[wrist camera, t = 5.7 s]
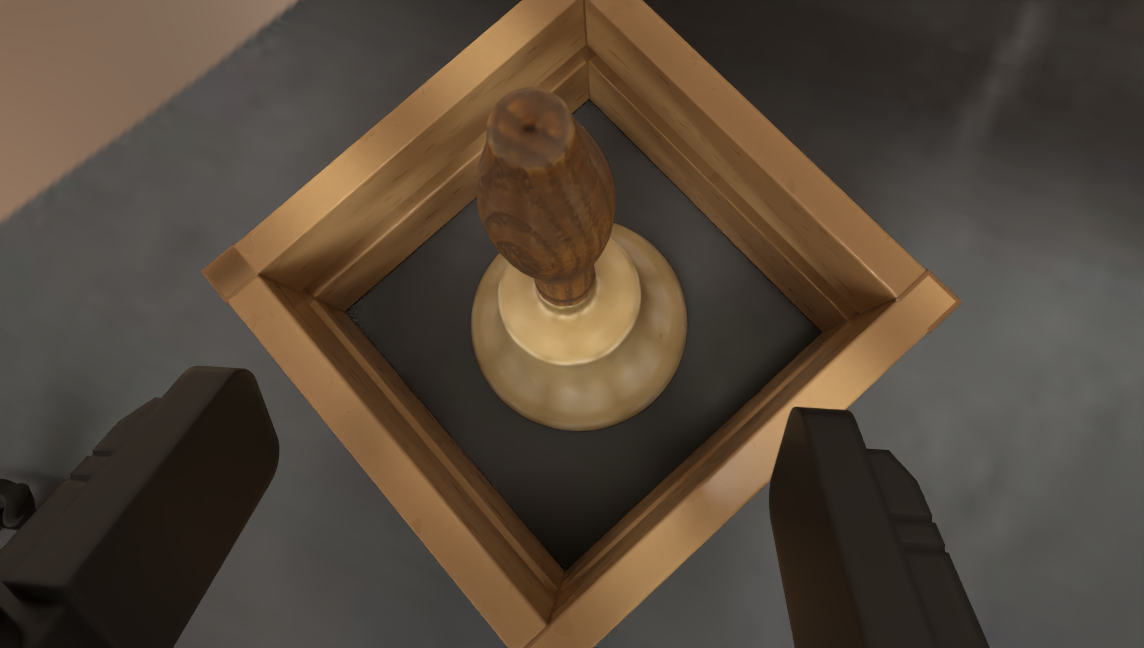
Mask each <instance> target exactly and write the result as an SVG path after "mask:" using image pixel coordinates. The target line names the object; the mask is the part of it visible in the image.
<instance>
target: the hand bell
mask: <svg viewBox="0 0 1144 648" xmlns="http://www.w3.org/2000/svg"><path fill="white" fill-rule="evenodd" d="M475 189H476V199H477V207H478V211H479V215H480V217H481V220H482V223H483V225H484V228H485V230H486V232H487V234H488V236H489V238H490V239H491V241H492V243H493V245H494V246H495V248H496V249H497V250H498V252H499V254H498V255H497V256H496V257H495V258H494V260H493V261H492V262H491V263H490V265H489V266H488V268H487V270H486V271H485V273H484V275H483V277H482V279H481V281H480V283H479V285H478V288H477V291H476V294H475V297H474V301H473V306H472V313H471V339H472V345H473V349H474V353H475V356H476V359H477V362H478V365H479V367H480V369H481V371H482V373H483V375H484V377H485V379H486V380H487V382H488V384H489V385H490V387H491V388H492V389H493V390H494V392H495V393H496V394H497V395H498V397H499V398H500V399H501V400H502V401H504V402H505V403H506V404H507V405H508V406H509V407H510V408H511V409H513V410H514V411H515V412H517V413H518V414H520V415H522V416H524V417H525V418H527V419H529V420H531V421H533V422H536V423H539V424H541V425H544V426H548V427H551V428H555V429H560V430H569V431H590V430H597V429H602V428H606V427H609V426H613V425H616V424H618V423H621V422H623V421H625V420H627V419H629V418H631V417H633V416H635V415H637V414H638V413H640V412H641V411H642V410H644V409H645V408H646V407H648V406H649V405H650V404H651V403H652V402H653V401H654V400H655V399H656V398H657V397H658V396H659V395H660V394H661V393H662V391H663V390H664V389H665V388H666V387H667V385H668V384H669V382H670V381H671V379H672V377H673V376H674V374H675V372H676V370H677V368H678V365H679V363H680V360H681V358H682V355H683V351H684V348H685V344H686V337H687V323H688V321H687V310H686V304H685V299H684V295H683V292H682V289H681V286H680V283H679V281H678V279H677V277H676V275H675V273H674V271H673V269H672V267H671V266H670V264H669V263H668V262H667V260H666V259H665V258H664V257H663V255H662V254H661V253H660V252H659V251H658V250H657V249H656V248H655V247H654V246H653V245H652V244H651V243H650V242H649V241H647V240H646V239H645V238H643V237H642V236H640V235H639V234H637V233H635V232H634V231H632V230H630V229H628V228H626V227H624V226H622V225H619V224H616V223H614V214H615V188H614V182H613V178H612V174H611V171H610V168H609V165H608V163H607V160H606V158H605V156H604V154H603V153H602V151H601V149H600V148H599V146H598V144H597V143H596V142H595V140H594V139H593V138H592V137H591V136H590V134H589V133H588V132H587V131H586V130H585V129H584V128H583V127H582V126H581V125H580V124H579V123H578V122H577V121H576V120H575V119H574V118H573V116H572V114H571V111H570V109H569V108H568V106H567V105H566V103H565V102H564V100H563V99H561V98H560V97H558V96H557V95H555V94H553V93H552V92H550V91H548V90H546V89H542V88H537V87H527V88H523V89H519V90H515V91H512V92H510V93H508V94H507V95H505V96H504V97H502V98H501V99H500V100H499V101H498V102H497V103H496V105H495V107H494V108H493V110H492V112H491V113H490V115H489V118H488V121H487V135H486V143H485V145H484V148H483V151H482V154H481V158H480V161H479V165H478V169H477V177H476V187H475Z"/></svg>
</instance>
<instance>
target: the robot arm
mask: <svg viewBox="0 0 1144 648" xmlns="http://www.w3.org/2000/svg"><path fill="white" fill-rule="evenodd" d="M278 460H279V442H278V438H277V435H276V432H275V429H274V427H273V424H272V421H271V419H270V416H269V413H268V411H267V408H266V405H265V402H264V400H263V397H262V394H261V392H260V389H259V386H258V384H257V381H256V379H255V376H254V375H253V374H252V373H251V372H250V371H249V370H247V369H241V368H225V367H210V366H193V367H191V368H189V369H188V370H186V371H185V372H184V373H183V374H182V375H181V376H180V377H179V379H178V380H177V381H176V382H175V383H174V384H173V385H172V387H171V388H170V389H169V390H168V391H167V392H166V393H165V394H164V396H163V397H162V398H153V399H152V400H150V401H149V402H147V403H146V404H144V405H143V406H141V407H140V408H138V409H137V410H135V411H134V412H132V413H131V414H129V415H128V416H126V417H125V418H123V419H122V420H120V421H119V422H118V423H117V424H116V425H115V426H114V427H113V428H112V429H111V430H110V432H109V433H108V434H107V435H106V436H105V437H104V438H103V439H102V440H101V441H100V442H99V443H98V445H97V446H96V447H95V448H94V449H93V454H92V456H87V457H86V458H85V459H84V460H83V461H82V462H81V463H80V464H79V465H78V466H77V467H76V468H75V470H74V471H73V472H72V473H71V474H70V475H71V478H70V480H69V481H66V480H64V482H63V483H62V484H61V485H60V486H59V487H58V488H57V489H56V490H55V491H54V492H53V493H52V495H51V496H50V497H49V498H48V499H47V500H46V501H45V502H44V503H43V504H42V505H41V507H40V508H39V509H38V510H37V511H36V512H35V513H34V514H33V515H32V516H31V517H30V518H29V520H28V521H27V522H26V523H25V524H24V525H23V526H22V527H21V528H20V529H19V530H18V532H17V533H16V534H15V535H14V536H13V537H12V538H11V539H10V540H9V541H8V542H7V543H6V545H5V546H4V547H3V548H2V549H1V550H0V648H173V647H174V645H175V643H176V642H177V640H178V638H179V637H180V635H181V633H182V632H183V630H184V628H185V627H186V625H187V623H188V621H189V620H190V618H191V616H192V615H193V613H194V611H195V610H196V608H197V606H198V605H199V603H200V601H201V599H202V598H203V596H204V594H205V593H206V591H207V589H208V588H209V586H210V584H211V583H212V581H213V579H214V577H215V576H216V574H217V572H218V571H219V569H220V567H221V566H222V564H223V562H224V561H225V559H226V557H227V555H228V554H229V552H230V550H231V549H232V547H233V545H234V544H235V542H236V540H237V538H238V537H239V535H240V533H241V532H242V530H243V528H244V527H245V525H246V523H247V522H248V520H249V518H250V516H251V515H252V513H253V511H254V510H255V508H256V506H257V505H258V503H259V501H260V500H261V498H262V496H263V494H264V493H265V491H266V489H267V488H268V486H269V484H270V483H271V481H272V479H273V477H274V475H275V472H276V469H277V465H278ZM769 510H770V519H771V525H772V530H773V535H774V540H775V546H776V551H777V556H778V561H779V567H780V572H781V577H782V582H783V588H784V593H785V598H786V603H787V609H788V614H789V619H790V624H791V629H792V635H793V640H794V645H795V648H990V647H989V645H988V643H987V640H986V638H985V636H984V633H983V631H982V629H981V627H980V624H979V622H978V620H977V617H976V615H975V613H974V611H973V608H972V606H971V604H970V601H969V599H968V597H967V594H966V592H965V590H964V588H963V585H962V583H961V581H960V578H959V576H958V574H957V571H956V569H955V567H954V565H953V562H952V560H951V558H950V555H949V553H946V552H945V549H944V547H945V544H944V542H943V539H942V537H941V535H940V532H939V530H938V528H937V526H936V523H933V522H932V514H931V512H930V509H929V507H928V505H927V503H926V500H925V498H924V496H923V493H922V491H921V489H920V486H919V484H918V482H917V480H916V479H915V478H914V477H913V476H912V475H911V474H910V473H909V472H908V471H907V470H906V468H905V467H904V466H903V465H902V464H901V463H900V462H899V461H898V460H897V459H896V458H895V457H894V456H893V454H892V453H891V452H890V451H889V450H878V449H866V446H865V443H864V441H863V438H862V435H861V433H860V430H859V427H858V425H857V422H856V420H855V417H854V416H853V414H852V413H851V412H850V411H849V410H840V409H825V408H809V407H793V408H792V410H791V411H790V414H789V416H788V420H787V423H786V427H785V430H784V434H783V437H782V441H781V444H780V448H779V451H778V455H777V459H776V462H775V466H774V469H773V473H772V476H771V482H770V490H769Z"/></svg>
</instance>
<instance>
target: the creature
mask: <svg viewBox="0 0 1144 648" xmlns="http://www.w3.org/2000/svg"><path fill="white" fill-rule="evenodd" d="M36 511H37V510H36V508H35V503H34V497H33V495H32V493H31V491H30V489H29V486H28V485H27V484H23V483H20V484H16V483H14V482H12V481H9V480H7V479H0V530H1V528H7V529H13V530H19V529H20V528H21V527H22V526H23V525H24V524H25V523H26V522H27V521H28V520H29V518H30V517H31V516H32V515H33V514H34V513H35V512H36Z"/></svg>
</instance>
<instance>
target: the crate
mask: <svg viewBox="0 0 1144 648" xmlns="http://www.w3.org/2000/svg"><path fill="white" fill-rule="evenodd" d="M527 87H537V88H542V89H546V90H548V91H550V92H552V93H553V94H555V95H557V96H558V97H560V98H561V99H563V100H564V102H565V103H566V105H567V106H568V108H569V109H570V111H571V114H572V113H573V112H574V111H575V110H577V109H578V108H579V107H580V106H581V105H582V104H583V103H585V102H586V101H587V100H588V99H591V101H592V102H593V103H594V104H595V105H596V106H597V107H598V108H599V109H600V110H601V111H602V112H603V113H604V114H605V115H606V116H607V117H608V118H609V119H610V120H611V121H612V122H613V123H614V124H615V125H616V126H617V127H618V128H619V129H620V130H621V131H622V132H623V133H624V134H625V135H626V136H627V137H628V138H629V139H630V140H631V141H632V142H633V143H634V144H635V145H636V146H637V147H638V148H639V149H640V150H641V151H642V152H643V153H644V154H645V155H646V156H647V157H648V158H649V159H650V160H651V161H652V162H653V163H654V164H655V165H656V166H657V167H658V168H659V169H660V170H661V171H662V172H663V173H664V174H665V175H666V176H667V177H668V178H669V179H670V180H671V181H672V182H673V183H674V184H675V185H676V186H677V187H678V188H679V189H680V190H681V191H682V192H683V193H684V194H685V195H686V196H687V197H688V198H689V199H690V200H691V201H692V202H693V203H694V204H695V205H696V206H697V207H698V208H699V209H700V210H701V211H702V212H703V213H704V214H705V215H706V216H707V217H708V218H709V219H710V220H711V221H712V222H713V223H714V224H715V225H716V226H717V227H718V228H719V229H720V230H721V231H722V232H723V233H724V234H725V235H726V236H727V237H728V238H729V239H730V240H731V241H732V242H733V243H734V244H735V245H736V246H737V247H738V248H739V249H740V250H741V251H742V252H743V253H744V254H745V255H746V256H747V257H748V258H749V259H750V260H751V261H752V262H753V263H754V264H755V265H756V266H757V267H758V268H759V269H760V270H761V271H762V272H763V273H764V274H765V275H766V276H767V277H768V278H769V279H770V280H771V281H772V282H773V283H774V284H775V285H776V286H777V287H778V288H779V289H780V290H781V291H782V292H783V293H784V294H785V295H786V297H787V298H788V299H789V300H790V301H791V302H792V303H793V304H794V305H795V306H796V307H797V308H798V309H799V310H800V311H801V312H802V313H803V314H804V315H805V316H806V317H807V318H808V319H809V320H810V321H811V322H812V323H813V324H814V325H815V326H816V327H817V328H818V329H819V330H820V331H821V334H820V335H819V336H818V337H817V338H816V339H815V340H814V341H813V342H812V343H811V344H809V345H808V346H807V347H806V348H805V349H804V350H803V351H802V352H801V353H800V354H799V355H798V356H797V357H795V358H794V359H793V360H792V361H791V362H790V363H789V364H788V365H787V366H786V367H785V368H784V369H783V370H781V371H780V372H779V373H778V374H777V375H776V376H775V377H774V378H773V379H772V380H771V381H770V382H769V383H768V384H766V385H765V386H764V387H763V388H762V389H761V390H760V391H759V392H758V393H757V394H756V395H755V396H754V397H752V398H751V399H750V400H749V401H748V402H747V403H746V404H745V405H744V406H743V407H742V408H741V409H740V410H738V411H737V412H736V413H735V414H734V415H733V416H732V417H731V418H730V419H729V420H728V421H727V422H726V423H724V424H723V425H722V426H721V427H720V428H719V429H718V430H717V431H716V432H715V433H714V434H713V435H712V436H710V437H709V438H708V439H707V440H706V441H705V442H704V443H703V444H702V445H701V446H700V447H699V448H698V449H697V450H695V451H694V452H693V453H692V454H691V455H690V456H689V457H688V458H687V459H686V460H685V461H684V462H683V463H681V464H680V465H679V466H678V467H677V468H676V469H675V470H674V471H673V472H672V473H671V474H670V475H669V476H667V477H666V478H665V479H664V480H663V481H662V482H661V483H660V484H659V485H658V486H657V487H656V488H655V489H653V490H652V491H651V492H650V493H649V494H648V495H647V496H646V497H645V498H644V499H643V500H642V501H641V502H640V503H638V504H637V505H636V506H635V507H634V508H633V509H632V510H631V511H630V512H629V513H628V514H627V515H626V516H624V517H623V518H622V519H621V520H620V521H619V522H618V523H617V524H616V525H615V526H614V527H613V528H612V529H610V530H609V531H608V532H607V533H606V534H605V535H604V536H603V537H602V538H601V539H600V540H599V541H598V542H596V543H595V544H594V545H593V546H592V547H591V548H590V549H589V550H588V551H587V552H586V553H585V554H584V555H582V556H581V557H580V558H579V559H578V560H577V561H576V562H575V563H574V564H573V565H572V566H571V567H570V568H569V569H567V570H566V571H564V570H563V569H562V568H561V567H560V566H559V564H558V563H557V562H556V561H555V560H554V558H553V557H552V556H551V555H550V554H549V553H548V551H547V550H546V549H545V548H544V547H543V545H542V544H541V543H540V542H539V541H538V540H537V538H536V537H535V536H534V535H533V534H532V532H531V531H530V530H529V529H528V528H527V527H526V525H525V524H524V523H523V522H522V521H521V519H520V518H519V517H518V516H517V515H516V514H515V512H514V511H513V510H512V509H511V508H510V506H509V505H508V504H507V503H506V502H505V501H504V499H503V498H502V497H501V496H500V495H499V493H498V492H497V491H496V490H495V489H494V487H493V486H492V485H491V484H490V483H489V482H488V480H487V479H486V478H485V477H484V476H483V474H482V473H481V472H480V471H479V470H478V469H477V467H476V466H475V465H474V464H473V463H472V461H471V460H470V459H469V458H468V457H467V456H466V454H465V453H464V452H463V451H462V450H461V448H460V447H459V446H458V445H457V444H456V443H455V441H454V440H453V439H452V438H451V437H450V435H449V434H448V433H447V432H446V431H445V430H444V428H443V427H442V426H441V425H440V424H439V422H438V421H437V420H436V419H435V418H434V417H433V415H432V414H431V413H430V412H429V411H428V409H427V408H426V407H425V406H424V405H423V404H422V402H421V401H420V400H419V399H418V398H417V396H416V395H415V394H414V393H413V392H412V391H411V389H410V388H409V387H408V386H407V385H406V383H405V382H404V381H403V380H402V379H401V378H400V376H399V375H398V374H397V373H396V372H395V370H394V369H393V368H392V367H391V366H390V364H389V363H388V362H387V361H386V360H385V359H384V357H383V356H382V355H381V354H380V353H379V351H378V350H377V349H376V348H375V347H374V346H373V344H372V343H371V342H370V341H369V340H368V338H367V337H366V336H365V335H364V334H363V333H362V331H361V330H360V329H359V328H358V327H357V325H356V324H355V323H354V322H353V321H352V320H351V318H350V317H349V316H348V315H347V314H346V310H347V309H348V308H349V307H350V306H352V305H353V304H354V303H355V302H356V301H357V300H358V299H360V298H361V297H362V296H363V295H364V294H365V293H367V292H368V291H369V290H370V289H371V288H372V287H373V286H375V285H376V284H377V283H378V282H379V281H380V280H381V279H383V278H384V277H385V276H386V275H387V274H388V273H389V272H391V271H392V270H393V269H394V268H395V267H396V266H397V265H399V264H400V263H401V262H402V261H403V260H404V259H406V258H407V257H408V256H409V255H410V254H411V253H412V252H414V251H415V250H416V249H417V248H418V247H419V246H420V245H422V244H423V243H424V242H425V241H426V240H427V239H428V238H430V237H431V236H432V235H433V234H434V233H435V232H437V231H438V230H439V229H440V228H441V227H442V226H443V225H445V224H446V223H447V222H448V221H449V220H450V219H451V218H453V217H454V216H455V215H456V214H457V213H458V212H459V211H461V210H462V209H463V208H464V207H465V206H466V205H468V204H469V203H470V202H471V201H472V200H473V199H474V198H476V189H475V187H476V177H477V169H478V165H479V161H480V158H481V154H482V151H483V148H484V145H485V143H486V135H487V121H488V118H489V115H490V113H491V112H492V110H493V108H494V107H495V105H496V103H497V102H498V101H499V100H500V99H501V98H502V97H504V96H505V95H507V94H508V93H510V92H512V91H515V90H519V89H523V88H527ZM201 272H202V274H203V275H204V276H205V278H206V279H207V280H208V281H209V282H210V284H211V285H212V286H213V287H214V289H215V290H216V291H217V292H218V294H219V295H220V296H221V297H222V299H223V300H224V301H225V302H226V303H229V304H230V305H231V306H232V308H233V309H234V310H235V311H236V312H237V314H238V315H239V316H240V317H241V319H242V320H243V321H244V322H245V324H246V325H247V326H248V327H249V329H250V330H251V331H252V332H253V333H254V335H255V336H256V337H257V338H258V340H259V341H260V342H261V343H262V345H263V346H264V347H265V348H266V350H267V351H268V352H269V353H270V354H271V356H272V357H273V358H274V359H275V361H276V362H277V363H278V364H279V366H280V367H281V368H282V369H283V371H284V372H285V373H286V374H287V375H288V377H289V378H290V379H291V380H292V382H293V383H294V384H295V385H296V387H297V388H298V389H299V390H300V392H301V393H302V394H303V395H304V396H305V398H306V399H307V400H308V401H309V403H310V404H311V405H312V406H313V408H314V409H315V410H316V411H317V413H318V414H319V415H320V416H321V417H322V419H323V420H324V421H325V422H326V424H327V425H328V426H329V427H330V429H331V430H332V431H333V432H334V433H335V435H336V436H337V437H338V438H339V440H340V441H341V442H342V443H343V445H344V446H345V447H346V448H347V450H348V451H349V452H350V453H351V454H352V456H353V457H354V458H355V459H356V461H357V462H358V463H359V464H360V466H361V467H362V468H363V469H364V471H365V472H366V473H367V474H368V475H369V477H370V478H371V479H372V480H373V482H374V483H375V484H376V485H377V487H378V488H379V489H380V490H381V492H382V493H383V494H384V495H385V496H386V498H387V499H388V500H389V501H390V503H391V504H392V505H393V506H394V508H395V509H396V510H397V511H398V513H399V514H400V515H401V516H402V517H403V519H404V520H405V521H406V522H407V524H408V525H409V526H410V527H411V529H412V530H413V531H414V532H415V534H416V535H417V536H418V537H419V538H420V540H421V541H422V542H423V543H424V545H425V546H426V547H427V548H428V550H429V551H430V552H431V553H432V555H433V556H434V557H435V558H436V559H437V561H438V562H439V563H440V564H441V566H442V567H443V568H444V569H445V571H446V572H447V573H448V574H449V576H450V577H451V578H452V579H453V580H454V582H455V583H456V584H457V585H458V587H459V588H460V589H461V590H462V592H463V593H464V594H465V595H466V596H467V598H468V599H469V600H470V601H471V603H472V604H473V605H474V606H475V608H476V609H477V610H478V611H479V613H480V614H481V615H482V616H483V617H484V619H485V620H486V621H487V622H488V624H489V625H490V626H491V627H492V629H493V630H494V631H495V632H496V634H497V635H498V636H499V637H500V638H501V640H502V641H503V642H504V643H505V645H506V646H507V647H508V648H593V647H594V646H595V645H596V644H597V643H599V642H600V641H601V640H602V639H603V638H604V637H605V636H606V635H607V634H608V633H609V632H610V631H611V630H612V629H613V628H614V627H615V626H617V625H618V624H619V623H620V622H621V621H622V620H623V619H624V618H625V617H626V616H627V615H628V614H629V613H630V612H631V611H632V610H634V609H635V608H636V607H637V606H638V605H639V604H640V603H641V602H642V601H643V600H644V599H645V598H646V597H647V596H648V595H649V594H650V593H652V592H653V591H654V590H655V589H656V588H657V587H658V586H659V585H660V584H661V583H662V582H663V581H664V580H665V579H666V578H667V577H669V576H670V575H671V574H672V573H673V572H674V571H675V570H676V569H677V568H678V567H679V566H680V565H681V564H682V563H683V562H684V561H685V560H687V559H688V558H689V557H690V556H691V555H692V554H693V553H694V552H695V551H696V550H697V549H698V548H699V547H700V546H701V545H702V544H704V543H705V542H706V541H707V540H708V539H709V538H710V537H711V536H712V535H713V534H714V533H715V532H716V531H717V530H718V529H719V528H720V527H722V526H723V525H724V524H725V523H726V522H727V521H728V520H729V519H730V518H731V517H732V516H733V515H734V514H735V513H736V512H737V511H739V510H740V509H741V508H742V507H743V506H744V505H745V504H746V503H747V502H748V501H749V500H750V499H751V498H752V497H753V496H754V495H755V494H757V493H758V492H759V491H760V490H761V489H762V488H763V487H764V486H765V485H766V484H767V483H768V482H769V481H770V480H771V476H772V473H773V469H774V466H775V462H776V459H777V455H778V451H779V448H780V444H781V441H782V437H783V434H784V430H785V427H786V423H787V420H788V416H789V414H790V411H791V410H792V408H793V407H809V408H825V409H840V410H846V409H847V408H848V407H849V406H850V405H851V404H852V403H853V402H854V401H855V400H856V399H857V398H858V397H859V396H860V395H862V394H863V393H864V392H865V391H866V390H867V389H868V388H869V387H870V386H871V385H872V384H873V383H874V382H875V381H876V380H877V379H879V378H880V377H881V376H882V375H883V374H884V373H885V372H886V371H887V370H888V369H889V368H890V367H891V366H892V365H893V364H894V363H895V362H897V361H898V360H899V359H900V358H901V357H902V356H903V355H904V354H905V353H906V352H907V351H908V350H909V349H910V348H911V347H912V346H914V345H915V344H916V343H917V342H918V341H919V340H920V339H921V338H922V337H923V336H924V335H925V334H927V333H930V332H932V331H933V330H934V329H935V328H936V327H937V326H938V325H939V324H940V323H941V322H942V321H943V320H944V319H945V318H946V317H948V316H949V315H950V314H951V313H952V312H953V311H954V310H955V309H956V308H957V307H958V306H959V305H960V304H961V303H962V301H961V300H960V299H959V298H958V297H957V296H956V295H955V294H954V293H953V292H951V291H950V290H949V289H948V288H947V287H946V286H945V285H944V284H943V283H942V282H941V281H940V280H939V279H938V278H937V277H936V276H935V275H934V274H933V273H932V272H930V271H929V270H928V269H927V270H925V269H924V268H923V267H922V266H921V265H920V264H919V263H918V262H917V261H916V260H915V259H914V258H913V257H912V256H911V255H909V254H908V253H907V252H906V251H905V250H904V249H903V248H902V247H901V246H900V245H899V244H898V243H897V242H896V241H895V240H894V239H893V238H892V237H891V236H890V235H888V234H887V233H886V232H885V231H884V230H883V229H882V228H881V227H880V226H879V225H878V224H877V223H876V222H875V221H874V220H873V219H872V218H871V217H870V216H869V215H867V214H866V213H865V212H864V211H863V210H862V209H861V208H860V207H859V206H858V205H857V204H856V203H855V202H854V201H853V200H852V199H851V198H850V197H849V196H848V195H846V194H845V193H844V192H843V191H842V190H841V189H840V188H839V187H838V186H837V185H836V184H835V183H834V182H833V181H832V180H831V179H830V178H829V177H828V176H827V175H825V174H824V173H823V172H822V171H821V170H820V169H819V168H818V167H817V166H816V165H815V164H814V163H813V162H812V161H811V160H810V159H809V158H808V157H807V156H806V155H804V154H803V153H802V152H801V151H800V150H799V149H798V148H797V147H796V146H795V145H794V144H793V143H792V142H791V141H790V140H789V139H788V138H787V137H786V136H785V135H783V134H782V133H781V132H780V131H779V130H778V129H777V128H776V127H775V126H774V125H773V124H772V123H771V122H770V121H769V120H768V119H767V118H766V117H765V116H764V115H762V114H761V113H760V112H759V111H758V110H757V109H756V108H755V107H754V106H753V105H752V104H751V103H750V102H749V101H748V100H747V99H746V98H745V97H744V96H743V95H741V94H740V93H739V92H738V91H737V90H736V89H735V88H734V87H733V86H732V85H731V84H730V83H729V82H728V81H727V80H726V79H725V78H724V77H723V76H722V75H720V74H719V73H718V72H717V71H716V70H715V69H714V68H713V67H712V66H711V65H710V64H709V63H708V62H707V61H706V60H705V59H704V58H703V57H702V56H701V55H699V54H698V53H697V52H696V51H695V50H694V49H693V48H692V47H691V46H690V45H689V44H688V43H687V42H686V41H685V40H684V39H683V38H682V37H681V36H680V35H678V34H677V33H676V32H675V31H674V30H673V29H672V28H671V27H670V26H669V25H668V24H667V23H666V22H665V21H664V20H663V19H662V18H661V17H660V16H659V15H657V14H656V13H655V12H654V11H653V10H652V9H651V8H650V7H649V6H648V5H647V4H646V3H645V2H644V1H643V0H522V1H521V2H520V3H518V4H517V5H516V6H515V7H514V8H513V9H511V10H510V11H509V12H508V13H507V14H505V15H504V16H503V17H502V18H501V19H500V20H498V21H497V22H496V23H495V24H494V25H493V26H491V27H490V28H489V29H488V30H487V31H486V32H484V33H483V34H482V35H481V36H480V37H478V38H477V39H476V40H475V41H474V42H473V43H471V44H470V45H469V46H468V47H467V48H466V49H464V50H463V51H462V52H461V53H460V54H459V55H457V56H456V57H455V58H454V59H453V60H451V61H450V62H449V63H448V64H447V65H446V66H444V67H443V68H442V69H441V70H440V71H439V72H437V73H436V74H435V75H434V76H433V77H431V78H430V79H429V80H428V81H427V82H426V83H424V84H423V85H422V86H421V87H420V88H419V89H417V90H416V91H415V92H414V93H413V94H412V95H410V96H409V97H408V98H407V99H406V100H404V101H403V102H402V103H401V104H400V105H399V106H397V107H396V108H395V109H394V110H393V111H392V112H390V113H389V114H388V115H387V116H386V117H385V118H383V119H382V120H381V121H380V122H379V123H377V124H376V125H375V126H374V127H373V128H372V129H370V130H369V131H368V132H367V133H366V134H365V135H363V136H362V137H361V138H360V139H359V140H357V141H356V142H355V143H354V144H353V145H352V146H350V147H349V148H348V149H347V150H346V151H345V152H343V153H342V154H341V155H340V156H339V157H338V158H336V159H335V160H334V161H333V162H332V163H330V164H329V165H328V166H327V167H326V168H325V169H323V170H322V171H321V172H320V173H319V174H318V175H316V176H315V177H314V178H313V179H312V180H310V181H309V182H308V183H307V184H306V185H305V186H303V187H302V188H301V189H300V190H299V191H298V192H296V193H295V194H294V195H293V196H292V197H291V198H289V199H288V200H287V201H286V202H285V203H283V204H282V205H281V206H280V207H279V208H278V209H276V210H275V211H274V212H273V213H272V214H271V215H269V216H268V217H267V218H266V219H265V220H264V221H262V222H261V223H260V224H259V225H258V226H256V227H255V228H254V229H253V230H252V231H251V232H249V233H248V234H247V235H246V236H245V237H244V238H242V239H241V240H240V241H239V242H238V243H236V244H233V245H232V246H230V247H229V248H228V249H227V250H226V251H225V252H223V253H222V254H221V255H220V256H219V257H217V258H216V259H215V260H214V261H213V262H212V263H210V264H209V265H208V266H207V267H206V268H205V269H203V270H202V271H201Z"/></svg>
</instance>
